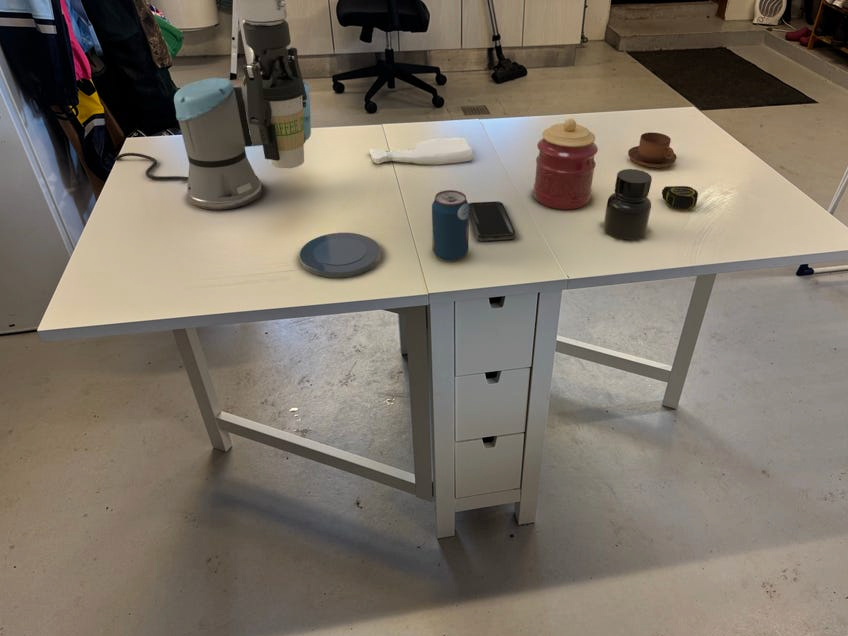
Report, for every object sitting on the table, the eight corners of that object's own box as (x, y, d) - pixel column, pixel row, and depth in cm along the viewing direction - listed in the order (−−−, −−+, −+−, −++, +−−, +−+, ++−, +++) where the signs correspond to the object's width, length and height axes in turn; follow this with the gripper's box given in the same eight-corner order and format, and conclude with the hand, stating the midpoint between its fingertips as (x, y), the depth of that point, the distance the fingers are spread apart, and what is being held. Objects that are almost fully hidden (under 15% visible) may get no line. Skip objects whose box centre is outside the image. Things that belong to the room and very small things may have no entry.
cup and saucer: (681, 159, 168) (687, 136, 164) (665, 175, 160) (670, 151, 156) (637, 149, 173) (641, 125, 169) (619, 163, 165) (623, 139, 161)
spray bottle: (474, 163, 162) (374, 171, 158) (464, 146, 170) (369, 153, 166) (474, 151, 160) (373, 159, 156) (464, 135, 168) (368, 142, 164)
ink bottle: (648, 223, 140) (659, 169, 133) (647, 243, 134) (659, 188, 126) (602, 218, 142) (610, 164, 134) (599, 237, 135) (608, 182, 127)
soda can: (475, 256, 127) (476, 199, 120) (445, 267, 124) (445, 208, 117) (455, 241, 132) (455, 185, 124) (425, 251, 128) (424, 194, 121)
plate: (285, 268, 122) (284, 262, 121) (326, 232, 133) (325, 226, 132) (357, 284, 119) (356, 278, 118) (393, 246, 130) (393, 240, 129)
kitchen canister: (601, 198, 149) (614, 120, 138) (567, 216, 142) (577, 135, 131) (556, 180, 156) (564, 104, 145) (521, 197, 148) (527, 118, 137)
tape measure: (689, 198, 150) (692, 183, 148) (699, 212, 145) (703, 196, 143) (660, 199, 150) (663, 183, 147) (669, 212, 145) (672, 197, 142)
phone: (501, 201, 144) (516, 234, 132) (501, 205, 144) (515, 239, 133) (466, 202, 143) (477, 236, 131) (465, 207, 143) (477, 241, 132)
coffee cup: (302, 174, 123) (290, 92, 114) (252, 169, 125) (236, 87, 115) (321, 154, 131) (311, 75, 121) (274, 150, 132) (260, 71, 123)
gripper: (248, 37, 103) (272, 174, 117) (316, 10, 119) (330, 133, 133) (207, 32, 105) (236, 168, 119) (279, 6, 121) (297, 128, 135)
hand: (285, 150), depth 126 cm, fingers closed on coffee cup, 9 cm apart
